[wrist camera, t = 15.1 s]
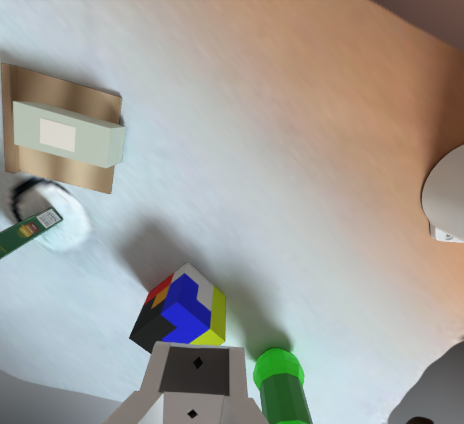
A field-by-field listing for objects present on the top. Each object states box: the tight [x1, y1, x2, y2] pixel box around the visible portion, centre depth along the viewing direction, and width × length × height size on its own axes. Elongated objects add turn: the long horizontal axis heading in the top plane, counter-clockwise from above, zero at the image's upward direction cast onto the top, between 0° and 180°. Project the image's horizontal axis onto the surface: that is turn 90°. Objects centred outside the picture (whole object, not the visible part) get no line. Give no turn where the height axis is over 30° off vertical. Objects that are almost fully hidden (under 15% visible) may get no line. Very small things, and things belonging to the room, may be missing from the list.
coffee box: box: [0, 207, 63, 259], centre depth 34 cm, size 8×3×13 cm, turn 115°
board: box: [1, 63, 122, 194], centre depth 34 cm, size 14×14×2 cm
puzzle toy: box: [129, 262, 226, 354], centre depth 41 cm, size 10×10×10 cm
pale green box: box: [13, 101, 126, 168], centre depth 32 cm, size 5×5×11 cm
